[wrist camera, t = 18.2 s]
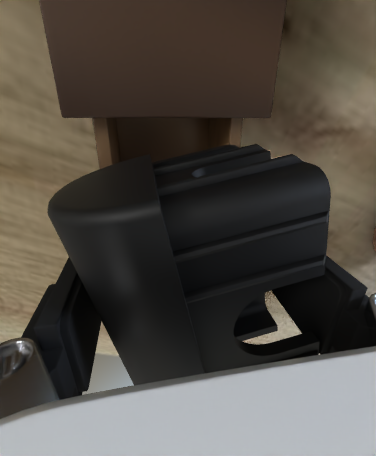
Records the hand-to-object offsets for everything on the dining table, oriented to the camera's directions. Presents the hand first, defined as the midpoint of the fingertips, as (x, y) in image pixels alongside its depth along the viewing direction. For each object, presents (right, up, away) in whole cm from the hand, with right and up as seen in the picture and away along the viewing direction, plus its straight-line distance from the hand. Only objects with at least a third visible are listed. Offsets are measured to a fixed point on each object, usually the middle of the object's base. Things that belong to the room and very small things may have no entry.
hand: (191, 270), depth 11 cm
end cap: (0, +1, +2) cm, 3 cm away
